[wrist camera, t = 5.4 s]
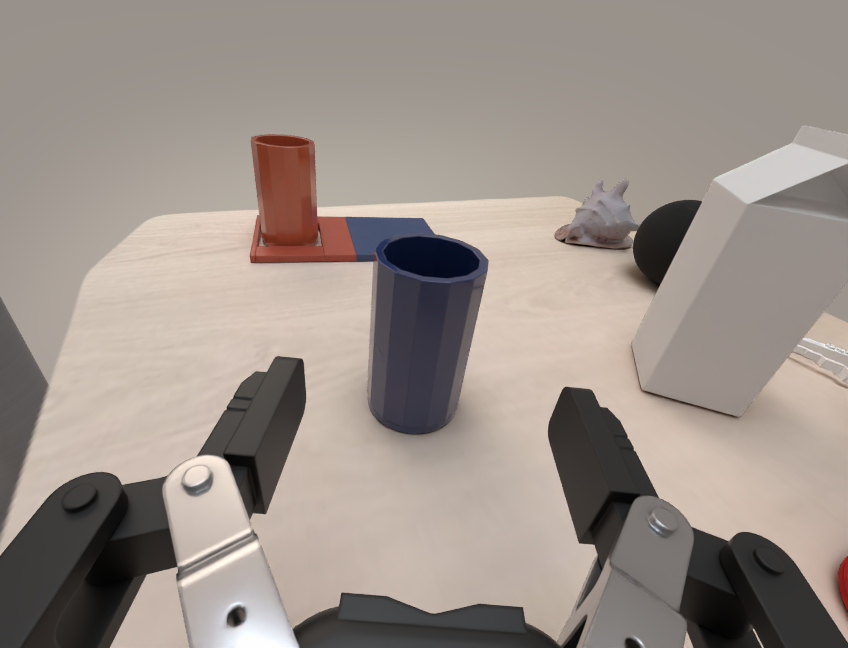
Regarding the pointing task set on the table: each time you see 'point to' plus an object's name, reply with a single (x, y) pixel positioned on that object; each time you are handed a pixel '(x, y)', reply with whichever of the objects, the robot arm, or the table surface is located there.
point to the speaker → (662, 237)
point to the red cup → (286, 189)
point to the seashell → (601, 220)
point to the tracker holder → (844, 581)
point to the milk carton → (749, 276)
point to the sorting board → (340, 239)
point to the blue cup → (421, 328)
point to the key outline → (825, 356)
